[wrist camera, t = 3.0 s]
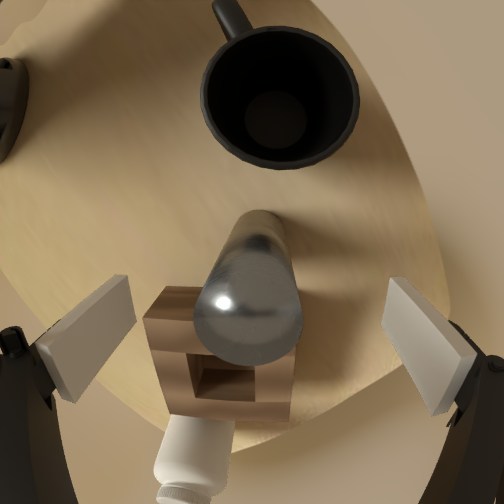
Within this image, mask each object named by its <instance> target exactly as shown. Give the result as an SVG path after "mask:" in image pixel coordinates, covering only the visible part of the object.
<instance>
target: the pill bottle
mask: <svg viewBox="0 0 504 504" xmlns="http://www.w3.org/2000/svg"><path fill="white" fill-rule="evenodd" d="M234 427H235V421H231V420H217V419H206V418H197V417H188V416H181V415H174V414H172V415H171V418H170V421H169V424H168V426H167V429H166V432H165V435H164V438H163V441H162V444H161V447H160V450H159V453H158V455H157V459H156V462H155V464H154V475H155V477H156V479H157V480H158V481H159V482H160V483H161V484H162V486H161V488H160V489H159V491H158V494H157V497H156V500H157V502H158V503H160V504H210V501H211V497H212V496H215V495H218V494H219V493H221V492H222V491H223V490H224V489H225V487H226V484H227V478H228V471H229V464H230V456H231V449H232V442H233V435H234Z"/></svg>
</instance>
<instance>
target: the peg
mask: <svg viewBox="0 0 504 504" xmlns="http://www.w3.org/2000/svg"><path fill="white" fill-rule="evenodd" d="M193 324H194V329H195V331H196V334H197V336H198V338H199V340H200V341H201V343H202V344H203V345H204V346H205V347H206V349H207V350H209V351H210V352H211V353H212V354H214V355H215V356H217V357H218V358H220V359H222V360H224V361H227V362H229V363H232V364H236V365H242V366H259V365H264V364H268V363H271V362H274V361H276V360H278V359H280V358H282V357H283V356H285V355H286V354H287V353H289V352H290V351H291V350H292V349H293V347H294V346H295V345H296V343H297V342H298V340H299V338H300V336H301V333H302V329H303V314H302V309H301V304H300V299H299V295H298V290H297V286H296V281H295V276H294V272H293V268H292V263H291V259H290V254H289V250H288V246H287V241H286V237H285V233H284V229H283V226H282V224H281V222H280V220H279V219H278V218H277V217H276V216H275V215H273V214H272V213H270V212H268V211H265V210H252V211H249V212H247V213H245V214H244V215H242V216H241V217H240V218H239V219H238V220H237V222H236V224H235V226H234V228H233V230H232V232H231V234H230V235H229V237H228V239H227V241H226V243H225V245H224V247H223V249H222V251H221V253H220V255H219V257H218V259H217V261H216V263H215V265H214V267H213V269H212V271H211V273H210V275H209V277H208V279H207V281H206V283H205V285H204V287H203V289H202V291H201V293H200V295H199V297H198V299H197V302H196V304H195V307H194V311H193Z"/></svg>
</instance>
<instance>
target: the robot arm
mask: <svg viewBox="0 0 504 504" xmlns="http://www.w3.org/2000/svg"><path fill="white" fill-rule="evenodd" d="M2 1H3V0H0V3H1V2H2ZM27 97H28V74H27V70H26V67H25V65H24V64H23V63H22V62H21V61H20V60H16V59H12V58H0V162H1V161H2V160H3V159H4V158H5V157H6V156H7V154H8V153H9V151H10V150H11V148H12V146H13V144H14V142H15V140H16V137H17V135H18V132H19V130H20V127H21V124H22V120H23V117H24V113H25V108H26V103H27ZM136 322H137V320H136V316H135V311H134V307H133V302H132V297H131V292H130V287H129V281H128V276H127V275H114V276H113V277H112V278H110V279H109V280H108V281H107V282H105V283H104V284H103V285H102V286H100V287H99V288H98V289H97V290H95V291H94V292H93V293H92V294H91V295H89V296H88V297H87V298H86V299H84V300H83V301H82V302H81V303H80V304H78V305H77V306H76V307H75V308H74V309H73V310H71V311H70V312H69V313H68V314H67V315H65V316H64V317H63V318H62V319H60V320H58V321H57V322H56V323H55V324H54V325H53V326H52V327H50V328H49V329H48V330H47V332H45V333H43V334H42V335H41V336H40V337H39V338H38V339H37V340H36V341H35V342H34V343H32V344H31V345H30V346H29V345H28V343H27V341H26V338H25V335H24V333H23V330H22V328H20V327H18V326H12V327H8V328H6V329H4V330H2V331H1V332H0V348H1V350H2V353H3V354H0V504H78V501H77V498H76V495H75V492H74V488H73V485H72V482H71V478H70V475H69V471H68V468H67V463H66V459H65V455H64V450H63V446H62V440H61V435H60V430H59V423H58V417H57V410H56V402H55V398H54V396H53V394H52V392H53V391H54V390H55V388H56V389H57V390H58V393H59V394H60V396H61V398H62V399H64V400H67V401H70V402H72V403H76V402H77V401H78V399H79V398H80V396H81V395H82V394H83V392H84V390H85V389H86V388H87V387H88V385H89V384H90V383H91V381H92V380H93V378H94V377H95V376H96V374H97V373H98V372H99V370H100V369H101V368H102V366H103V365H104V364H105V362H106V361H107V360H108V358H109V357H110V356H111V354H112V353H113V352H114V350H115V349H116V348H117V346H118V345H119V344H120V343H121V341H122V340H123V339H124V337H125V336H126V335H127V333H128V332H129V331H130V330H131V328H132V327H133V326H134V325H135V323H136ZM381 326H382V328H383V329H384V331H385V333H386V334H387V336H388V338H389V339H390V341H391V343H392V345H393V346H394V348H395V350H396V351H397V353H398V355H399V357H400V358H401V360H402V362H403V364H404V365H405V367H406V369H407V371H408V373H409V374H410V376H411V378H412V380H413V382H414V384H415V385H416V387H417V389H418V391H419V393H420V394H421V397H422V399H423V400H424V402H425V404H426V406H427V408H428V410H429V412H430V414H431V416H436V415H439V414H442V413H445V412H448V410H449V409H450V407H451V405H452V403H453V402H454V401H455V402H456V404H457V406H458V408H457V409H456V411H455V413H454V414H453V416H452V417H451V419H450V421H449V422H448V424H447V426H446V427H449V425H450V423H451V426H450V429H449V432H448V435H447V438H446V441H445V444H444V446H443V449H442V452H441V455H440V457H439V460H438V462H437V464H436V467H435V469H434V472H433V474H432V476H431V479H430V481H429V483H428V485H427V487H426V489H425V491H424V493H423V495H422V497H421V499H420V501H419V503H418V504H494V501H495V497H496V503H495V504H504V359H503V358H501V357H499V356H495V355H489V356H486V355H485V354H484V353H483V352H482V351H481V350H480V348H479V347H478V346H477V345H476V344H475V343H474V342H473V341H472V340H471V339H470V338H469V336H468V335H467V334H465V332H464V331H463V330H462V329H461V328H460V327H459V326H458V325H457V324H455V323H453V322H452V321H450V320H446V318H445V317H444V316H443V315H442V314H441V313H440V312H439V311H438V310H437V309H436V308H435V307H434V306H433V305H432V304H431V303H430V302H429V301H428V300H427V299H426V298H425V297H424V296H423V295H422V294H421V293H420V292H419V291H418V290H417V289H416V288H415V287H414V286H413V285H412V284H411V283H410V282H409V281H407V280H406V279H405V278H404V277H403V276H399V277H390V280H389V286H388V292H387V297H386V303H385V308H384V313H383V317H382V322H381Z"/></svg>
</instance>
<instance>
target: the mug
mask: <svg viewBox="0 0 504 504" xmlns="http://www.w3.org/2000/svg"><path fill="white" fill-rule="evenodd" d="M212 9H213V11H214V13H215V15H216V18H217V20H218V22H219V24H220V26H221V28H222V30H223V32H224V35H225V37H226V39H227V41H228V42H227V43H226V44H225V45H223V46H222V47H221V48H220V49H219V50H218V51H217V53H216V54H215V55H214V56H213V58H212V59H211V60H210V62H209V64H208V66H207V68H206V70H205V72H204V75H203V78H202V84H201V89H200V100H201V109H202V112H203V116H204V119H205V122H206V124H207V126H208V128H209V129H210V131H211V132H212V134H213V136H214V137H215V139H216V140H217V141H218V142H219V143H220V144H221V145H222V146H223V147H224V148H225V149H226V150H227V151H229V152H230V153H232V154H233V155H235V156H236V157H238V158H239V159H241V160H242V161H245V162H248V163H250V164H253V165H255V166H258V167H262V168H268V169H274V170H295V169H300V168H304V167H308V166H312V165H315V164H317V163H319V162H321V161H323V160H324V159H326V158H328V157H330V156H331V155H332V154H334V153H335V152H336V151H337V150H338V149H339V148H341V147H342V146H343V145H344V143H345V142H346V140H347V139H348V138H349V136H350V135H351V133H352V132H353V129H354V127H355V124H356V122H357V119H358V115H359V107H360V96H359V88H358V83H357V80H356V78H355V75H354V72H353V70H352V68H351V67H350V65H349V64H348V62H347V61H346V59H345V58H344V56H343V55H342V54H341V53H340V52H339V51H338V50H337V49H336V48H335V47H334V46H333V45H332V44H330V43H329V42H327V41H326V40H324V39H322V38H321V37H319V36H318V35H316V34H313V33H310V32H308V31H305V30H302V29H299V28H293V27H287V26H265V27H261V28H256V29H253V27H252V25H251V24H250V22H249V20H248V18H247V17H246V15H245V13H244V12H243V10H242V8H241V7H240V5H239V4H238V2H237V1H236V0H215V1H214V2H213V3H212Z"/></svg>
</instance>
